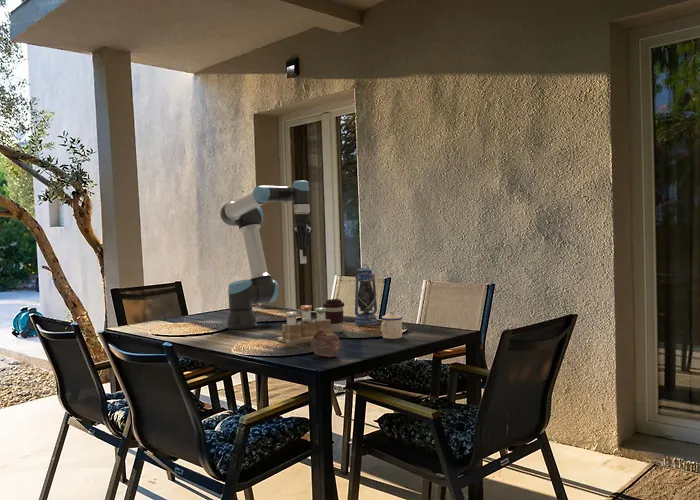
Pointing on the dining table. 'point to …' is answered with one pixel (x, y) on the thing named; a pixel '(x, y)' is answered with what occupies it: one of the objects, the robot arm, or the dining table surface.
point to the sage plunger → (321, 314)
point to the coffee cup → (334, 314)
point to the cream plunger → (291, 318)
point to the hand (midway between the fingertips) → (303, 263)
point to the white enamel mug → (391, 326)
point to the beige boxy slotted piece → (304, 331)
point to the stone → (325, 344)
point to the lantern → (365, 297)
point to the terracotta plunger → (306, 313)
